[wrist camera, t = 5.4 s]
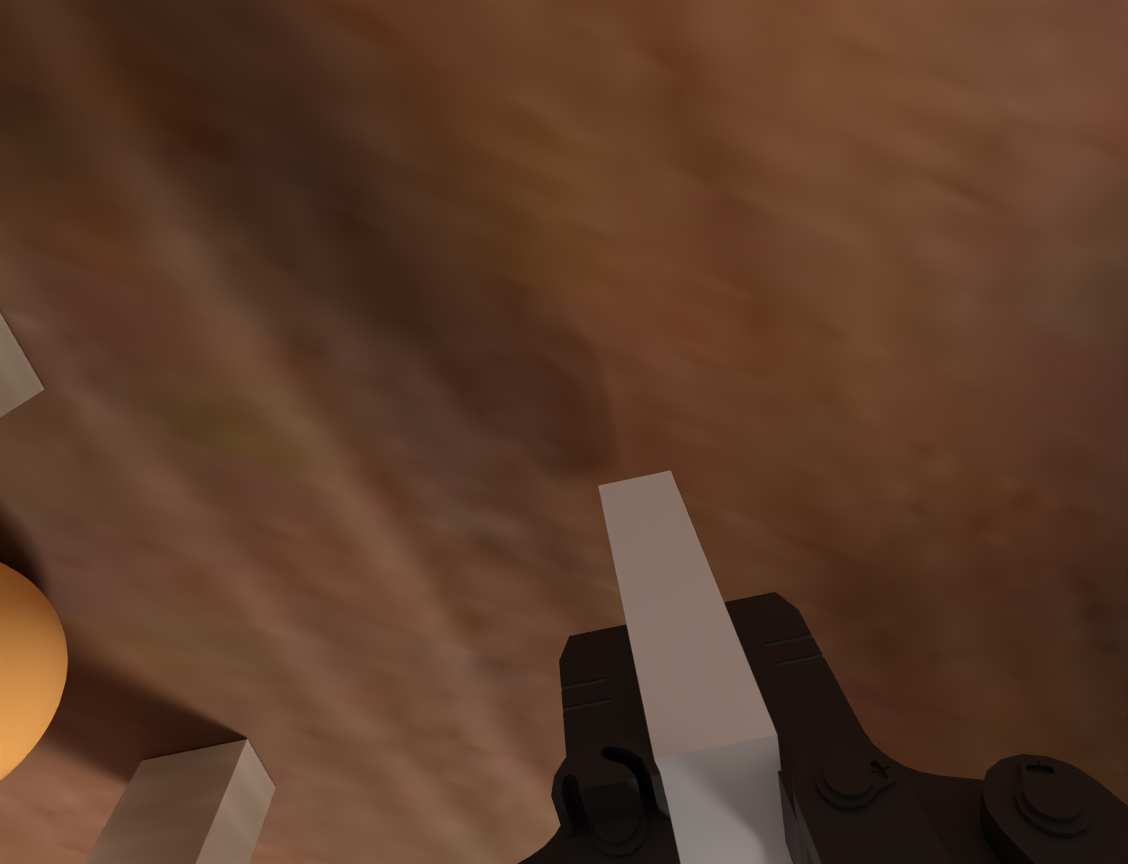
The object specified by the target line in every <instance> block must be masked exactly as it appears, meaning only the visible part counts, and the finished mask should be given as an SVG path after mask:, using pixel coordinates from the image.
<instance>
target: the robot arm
mask: <svg viewBox="0 0 1128 864" xmlns="http://www.w3.org/2000/svg"><path fill="white" fill-rule="evenodd" d="M598 487H599V492H600V497H601V502H602V507H603V512H604V517H605V522H606V526H607V531H608V536H609V541H610V546H611V551H612V556H613V560H614V565H615V570H616V575H617V580H618V585H619V590H620V595H621V599H622V604H623V609H624V614H625V619H626V625H621V626H617V627H612V628H607V629H602V630H597V631H592V632H587V633H582V634H578V635H573V636H569V639H568V641H567V643H566V646H565V648H564V651H563V653H562V655H561V658H560V660H559V664H560V677H561V688H562V704H563V711H564V713H563V718H564V731H565V745H566V758H565V759H564V761H563V763H562V764H561V766H560V768H559V769H558V771H557V773H556V774H555V776H554V781H553V787H552V794H551V797H552V800H553V803H554V806H555V809H556V812H557V815H558V818H559V821H560V824H561V826H560V827H559V829H558V831H557V832H556V834H555V835H554V836H553V837H552V839H551V840H550V841H549V842H548V843H547V844H546V845H545V846H544V847H543V848H541V849H540V850H539V851H537V852H536V853H534V854H533V855H531V856H530V857H528V858H527V859H525V860H523V861H521V862H519V863H518V864H791V859H792V862H793V864H1128V807H1127V806H1126V805H1125V804H1124V803H1123V802H1122V801H1120V800H1119V799H1118V798H1117V797H1116V796H1114V795H1113V794H1112V793H1111V792H1110V791H1109V790H1107V789H1106V788H1105V787H1104V786H1103V785H1102V784H1100V783H1099V782H1098V781H1096V780H1095V779H1093V778H1092V777H1090V776H1089V775H1087V774H1086V773H1084V772H1083V771H1081V770H1080V769H1078V768H1076V767H1075V766H1073V765H1070V764H1067V763H1064V762H1062V761H1059V760H1056V759H1053V758H1051V757H1048V756H1037V755H1026V754H1021V755H1017V756H1012V757H1008V758H1004V759H1001V760H1000V761H998V762H997V763H996V764H995V765H994V766H992V767H991V768H990V769H989V770H987V773H986V776H985V780H978V779H968V778H958V777H949V776H939V775H933V774H928V773H923V772H918V771H916V770H913V769H911V768H908V767H906V766H903V765H901V764H899V763H897V762H896V761H894V760H892V759H891V758H889V757H888V756H887V755H885V754H884V753H882V752H881V751H880V750H879V749H878V748H877V747H876V746H875V745H874V744H873V743H872V742H871V740H870V739H869V738H868V736H867V735H866V733H865V732H864V730H863V729H862V727H861V725H860V723H859V721H858V719H857V717H856V716H855V714H854V712H853V710H852V708H851V706H850V704H849V703H848V701H847V699H846V697H845V695H844V693H843V692H842V690H841V688H840V686H839V684H838V682H837V680H836V679H835V677H834V675H833V673H832V671H831V669H830V668H829V666H828V664H827V662H826V660H825V658H823V657H822V653H821V651H820V649H819V647H818V645H817V644H816V642H815V640H814V638H812V636H811V632H810V631H809V629H808V627H807V625H806V623H805V621H804V619H803V618H802V616H801V614H800V612H799V610H798V609H796V608H795V607H794V606H793V605H791V604H790V603H789V602H787V601H786V600H785V599H783V598H782V597H781V596H780V595H778V594H777V593H776V592H773V593H768V594H763V595H758V596H753V597H748V598H744V599H739V600H734V601H729V602H723V599H722V597H721V594H720V592H719V589H718V587H717V584H716V582H715V579H714V577H713V574H712V572H711V569H710V567H709V564H708V562H707V559H706V557H705V554H704V552H703V550H702V547H701V545H700V542H699V540H698V537H697V535H696V532H695V530H694V527H693V525H692V522H691V520H690V517H689V515H688V512H687V510H686V507H685V505H684V502H683V500H682V498H681V495H680V493H679V490H678V488H677V485H676V483H675V480H674V478H673V475H672V473H671V470H670V471H665V472H661V473H656V474H651V475H646V476H642V477H637V478H632V479H628V480H623V481H618V482H614V483H609V484H604V485H599V486H598Z"/></svg>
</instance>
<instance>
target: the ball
mask: <svg viewBox="0 0 1128 864" xmlns="http://www.w3.org/2000/svg"><path fill="white" fill-rule="evenodd" d="M67 665H68V655H67V644H66V638H65V634H64V631H63V628H62V625H61V622H60V620H59V617H58V615H57V613H56V611H55V610H54V608H53V606H52V605H51V603H50V602H49V601H48V599H47V598H46V597H45V596H44V594H43V593H42V592H41V591H40V590H39V589H38V588H37V587H36V586H35V585H34V584H33V583H32V582H31V581H29V580H28V579H27V578H26V577H24V576H23V575H21V574H20V573H18V572H17V571H15V570H13V569H12V568H10V567H8V566H6V565H4V564H2V563H0V781H1V780H2V779H4V778H5V777H6V776H7V775H8V774H9V773H10V772H11V771H12V770H13V769H14V768H15V767H16V766H17V765H18V764H19V763H20V762H21V761H22V760H23V759H24V758H25V757H26V756H27V755H28V753H29V752H30V751H31V750H32V749H33V747H34V746H35V745H36V744H37V743H38V741H39V740H40V738H41V737H42V735H43V734H44V732H45V730H46V729H47V727H48V726H49V724H50V722H51V720H52V718H53V716H54V714H55V712H56V710H57V708H58V705H59V703H60V700H61V696H62V693H63V689H64V686H65V682H66V675H67Z"/></svg>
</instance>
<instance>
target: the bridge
mask: <svg viewBox="0 0 1128 864" xmlns="http://www.w3.org/2000/svg"><path fill="white" fill-rule="evenodd" d="M43 390H44V387H43V386H42V384H41V382H40V380H39V379H38V377H37V375H36V374H35V372H34V370H33V368H32V367H31V365H30V363H29V361H28V360H27V358H26V356H25V355H24V353H23V351H22V349H21V348H20V346H19V344H18V342H17V341H16V339H15V337H14V336H13V334H12V332H11V330H10V329H9V327H8V325H7V323H6V322H5V320H4V318H3V317H2V315H1V313H0V417H2V416H3V415H5V414H6V413H8V412H10V411H11V410H13V409H14V408H16V407H17V406H19V405H21V404H22V403H24V402H25V401H27V400H28V399H30V398H32V397H33V396H35V395H36V394H38V393H40V392H41V391H43ZM274 791H275V786H274V784H273V783H272V781H271V779H270V778H269V776H268V774H267V772H266V771H265V769H264V767H263V765H262V764H261V762H260V760H259V759H258V757H257V755H256V753H255V752H254V750H253V748H252V746H251V745H250V743H249V741H248V740H247V739H246V740H241V741H236V742H231V743H226V744H221V745H216V746H211V747H206V748H201V749H196V750H192V751H187V752H182V753H177V754H172V755H167V756H162V757H157V758H152V759H147V760H142V761H141V762H140V764H139V766H138V768H137V770H136V771H135V773H134V775H133V777H132V779H131V780H130V782H129V784H128V786H127V787H126V789H125V791H124V793H123V795H122V796H121V798H120V800H119V802H118V804H117V805H116V807H115V809H114V811H113V813H112V814H111V816H110V818H109V820H108V821H107V823H106V825H105V827H104V829H103V830H102V832H101V834H100V836H99V838H98V839H97V841H96V843H95V845H94V846H93V848H92V850H91V852H90V854H89V855H88V857H87V859H86V861H85V863H84V864H249V863H250V860H251V857H252V854H253V851H254V848H255V846H256V843H257V840H258V837H259V834H260V831H261V828H262V825H263V822H264V820H265V817H266V814H267V811H268V808H269V805H270V802H271V799H272V796H273V794H274Z"/></svg>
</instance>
